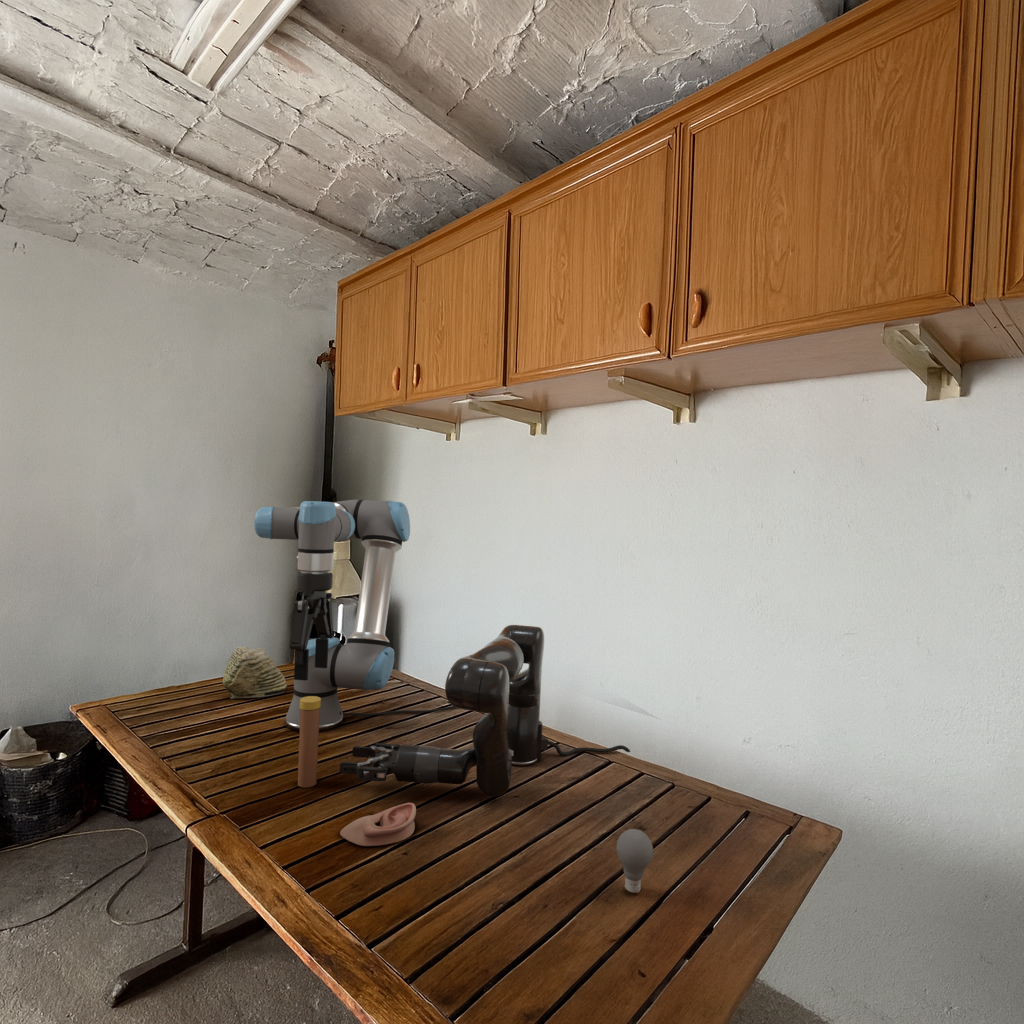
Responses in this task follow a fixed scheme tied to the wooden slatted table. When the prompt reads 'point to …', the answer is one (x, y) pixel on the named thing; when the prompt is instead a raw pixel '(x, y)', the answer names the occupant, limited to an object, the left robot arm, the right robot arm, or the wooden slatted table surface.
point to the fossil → (252, 674)
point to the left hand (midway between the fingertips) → (311, 673)
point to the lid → (310, 703)
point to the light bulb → (634, 857)
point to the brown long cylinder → (308, 748)
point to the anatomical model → (382, 826)
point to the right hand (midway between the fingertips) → (346, 759)
